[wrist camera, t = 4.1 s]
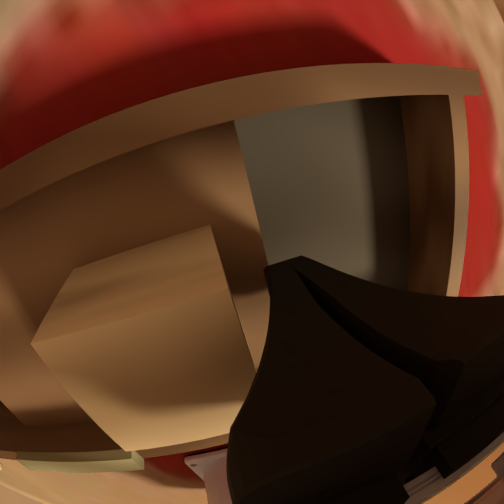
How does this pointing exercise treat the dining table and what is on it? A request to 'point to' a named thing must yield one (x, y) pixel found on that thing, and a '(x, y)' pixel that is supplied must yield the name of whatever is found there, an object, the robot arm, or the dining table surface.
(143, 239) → the trap lane
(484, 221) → the dining table surface
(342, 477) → the robot arm
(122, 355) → the birch block
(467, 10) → the dining table surface
